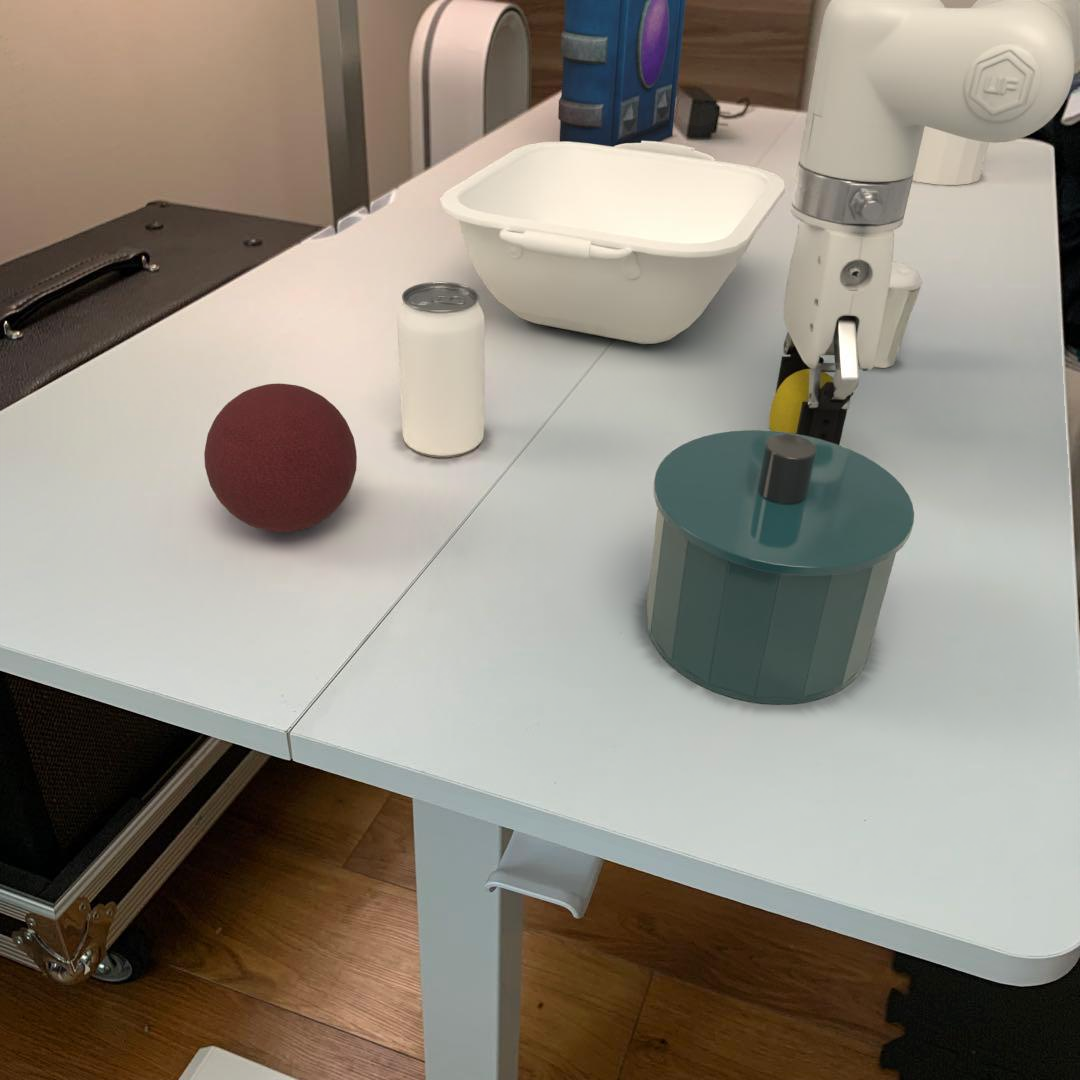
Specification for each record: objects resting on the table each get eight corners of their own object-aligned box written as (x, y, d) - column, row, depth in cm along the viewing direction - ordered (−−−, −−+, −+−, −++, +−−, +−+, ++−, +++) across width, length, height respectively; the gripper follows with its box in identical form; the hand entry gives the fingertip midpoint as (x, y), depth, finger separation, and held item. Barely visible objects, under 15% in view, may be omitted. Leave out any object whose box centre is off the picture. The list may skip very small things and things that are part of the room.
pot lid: (871, 449, 68) (885, 389, 65) (944, 588, 56) (965, 521, 53) (641, 443, 67) (647, 383, 65) (666, 582, 55) (674, 515, 53)
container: (870, 172, 153) (901, 18, 141) (902, 153, 162) (933, 7, 150) (964, 191, 146) (1005, 31, 135) (992, 170, 156) (1032, 19, 144)
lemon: (748, 460, 84) (764, 367, 79) (786, 436, 87) (803, 345, 83) (809, 486, 81) (829, 391, 76) (846, 461, 84) (867, 368, 80)
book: (601, 171, 148) (618, -80, 131) (548, 160, 152) (558, -85, 135) (680, 138, 165) (704, -89, 148) (630, 128, 169) (648, -93, 152)
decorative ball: (276, 580, 69) (258, 445, 63) (186, 521, 74) (161, 392, 69) (390, 518, 75) (383, 390, 70) (300, 468, 81) (286, 345, 75)
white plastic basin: (541, 238, 125) (545, 125, 118) (782, 278, 117) (803, 159, 109) (405, 349, 99) (399, 212, 91) (704, 412, 90) (724, 266, 83)
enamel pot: (838, 566, 72) (867, 444, 67) (894, 706, 61) (935, 573, 56) (638, 562, 72) (651, 439, 67) (658, 702, 61) (676, 567, 55)
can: (408, 418, 88) (402, 277, 81) (486, 421, 88) (487, 281, 81) (397, 457, 82) (389, 311, 76) (480, 461, 82) (481, 315, 76)
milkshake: (841, 347, 102) (862, 245, 96) (898, 352, 102) (923, 250, 96) (845, 368, 98) (868, 262, 93) (905, 373, 98) (931, 268, 92)
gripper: (946, 239, 65) (883, 487, 75) (871, 161, 80) (826, 378, 90) (824, 236, 65) (777, 485, 75) (771, 157, 79) (737, 376, 89)
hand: (804, 425), depth 82 cm, fingers open, 6 cm apart
